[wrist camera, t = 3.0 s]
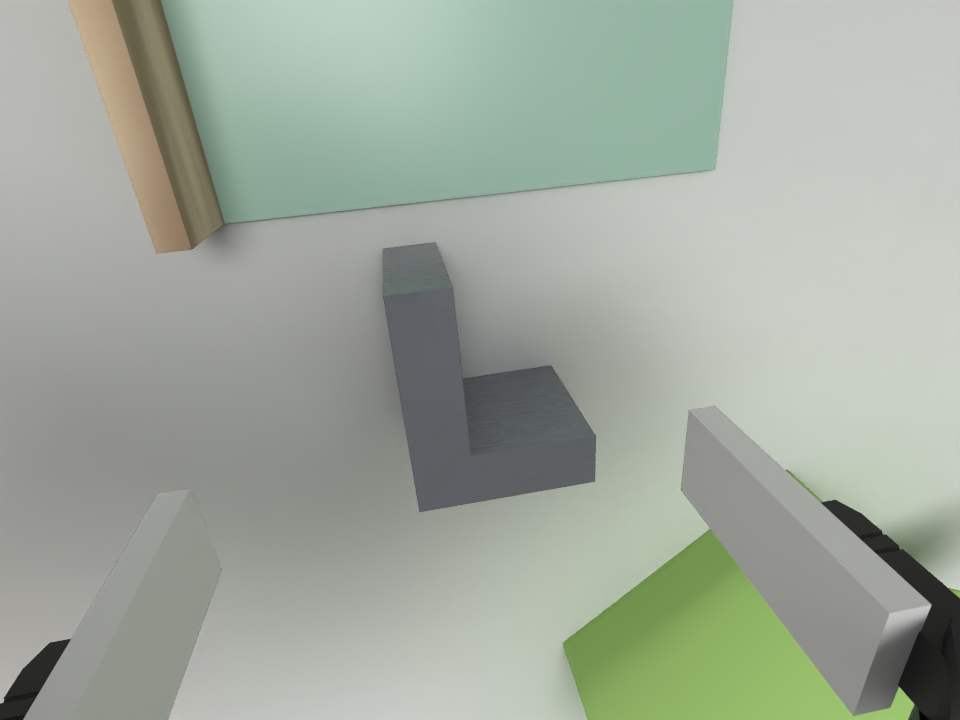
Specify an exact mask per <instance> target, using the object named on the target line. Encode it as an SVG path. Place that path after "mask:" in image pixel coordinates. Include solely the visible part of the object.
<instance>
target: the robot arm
mask: <svg viewBox="0 0 960 720" xmlns="http://www.w3.org/2000/svg"><path fill="white" fill-rule="evenodd" d="M681 491H682V492H683V494H684V495H685V496H686V498H687V499H688V500H689V502H690V503H691V504H692V505H693V507H694V508H695V509H696V511H697V512H698V513H699V515H700V516H701V517H702V519H703V520H704V521H705V522H706V524H707V525H708V526H709V528H710V529H711V530H712V532H713V533H714V534H715V536H716V537H717V538H718V540H719V541H720V542H721V543H722V545H723V546H724V547H725V549H726V550H727V551H728V553H729V554H730V555H731V557H732V558H733V559H734V561H735V562H736V563H737V564H738V566H739V567H740V568H741V570H742V571H743V572H744V574H745V575H746V576H747V578H748V579H749V580H750V582H751V583H752V584H753V585H754V587H755V588H756V589H757V591H758V592H759V593H760V595H761V596H762V597H763V599H764V600H765V601H766V603H767V604H768V605H769V606H770V608H771V609H772V610H773V612H774V613H775V614H776V616H777V617H778V618H779V620H780V621H781V622H782V624H783V625H784V626H785V627H786V629H787V630H788V631H789V633H790V634H791V635H792V637H793V638H794V639H795V641H796V642H797V643H798V645H799V646H800V647H801V648H802V650H803V651H804V652H805V654H806V655H807V656H808V658H809V659H810V660H811V662H812V663H813V664H814V666H815V667H816V668H817V669H818V671H819V672H820V673H821V675H822V676H823V677H824V679H825V680H826V681H827V683H828V684H829V685H830V687H831V688H832V689H833V690H834V692H835V693H836V694H837V696H838V697H839V698H840V700H841V701H842V702H843V704H844V705H845V706H846V707H847V709H848V710H849V711H850V713H851V714H852V715H853V716H856V715H861V714H865V713H870V712H874V711H879V710H883V709H887V708H891V705H892V703H893V700H894V698H895V695H896V693H897V690H898V688H899V687H900V688H901V689H902V691H903V692H904V693H905V694H906V695H907V696H908V697H909V699H910V700H911V701H912V702H913V703H914V707H913V709H912V711H911V714H910V716H909V718H908V720H960V598H959V597H958V596H957V595H955V594H954V593H953V592H952V591H951V590H950V589H948V588H947V587H946V586H945V585H944V584H943V583H941V582H940V581H939V580H938V579H937V578H936V577H934V576H933V575H932V574H931V573H930V572H929V571H928V570H926V569H925V568H924V567H923V566H922V565H921V564H919V563H918V562H917V561H916V560H915V559H914V558H912V557H911V556H910V555H909V554H908V553H907V552H905V551H904V550H900V549H899V546H898V545H897V544H896V543H895V542H894V541H893V540H892V539H890V538H889V537H888V536H887V535H883V534H882V531H881V530H880V529H879V528H878V527H876V526H875V525H874V524H873V523H872V522H871V521H869V520H868V519H867V518H866V517H865V516H864V515H862V514H861V513H859V512H857V511H856V510H854V509H852V508H850V507H848V506H846V505H844V504H842V503H840V502H838V501H837V500H832V501H827V502H821V503H820V502H819V501H818V500H817V499H816V498H815V497H814V496H813V495H812V494H810V493H809V492H808V491H807V490H806V489H805V488H804V487H803V486H802V485H801V484H800V483H799V482H797V481H796V480H795V479H794V478H793V477H792V476H791V475H790V474H789V473H788V472H787V471H785V470H784V469H783V468H782V467H781V466H780V465H779V464H778V463H777V462H776V461H775V460H773V459H772V458H771V457H770V456H769V455H768V454H767V453H766V452H765V451H764V450H763V449H761V448H760V447H759V446H758V445H757V444H756V443H755V442H754V441H753V440H752V439H751V438H749V437H748V436H747V435H746V434H745V433H744V432H743V431H742V430H741V429H740V428H739V427H737V426H736V425H735V424H734V423H733V422H732V421H731V420H730V419H729V418H728V417H727V416H725V415H724V414H723V413H722V412H721V411H720V410H719V409H718V408H717V407H716V406H712V407H705V408H699V409H692V410H689V412H688V422H687V432H686V442H685V452H684V462H683V472H682V482H681ZM221 570H222V568H221V565H220V563H219V560H218V558H217V555H216V553H215V550H214V548H213V545H212V543H211V540H210V537H209V535H208V532H207V530H206V527H205V525H204V522H203V520H202V517H201V515H200V512H199V510H198V507H197V505H196V502H195V500H194V497H193V494H192V492H191V489H190V488H189V489H182V490H176V491H170V492H163V493H158V494H157V496H156V497H155V499H154V501H153V502H152V504H151V506H150V507H149V509H148V511H147V512H146V514H145V516H144V518H143V519H142V521H141V523H140V524H139V526H138V528H137V529H136V531H135V533H134V534H133V536H132V538H131V539H130V541H129V543H128V544H127V546H126V548H125V549H124V551H123V553H122V554H121V556H120V558H119V560H118V561H117V563H116V565H115V566H114V568H113V570H112V571H111V573H110V575H109V576H108V578H107V580H106V581H105V583H104V585H103V586H102V588H101V590H100V591H99V593H98V595H97V596H96V598H95V600H94V601H93V603H92V605H91V607H90V608H89V610H88V612H87V613H86V615H85V617H84V618H83V620H82V622H81V623H80V625H79V627H78V628H77V630H76V632H75V633H74V635H73V637H72V638H71V639H68V640H63V641H57V642H51V643H49V644H48V645H47V646H46V647H45V648H44V649H43V650H42V651H41V652H40V653H39V654H38V655H37V656H36V657H35V658H34V659H33V660H32V661H31V662H30V663H29V664H28V665H27V666H26V667H24V668H23V670H22V671H21V673H20V674H19V676H18V677H17V679H16V680H15V682H14V683H13V685H12V686H11V688H10V690H9V691H8V693H7V694H6V696H5V697H4V703H1V704H0V720H168V718H169V715H170V712H171V710H172V707H173V704H174V701H175V698H176V696H177V693H178V690H179V687H180V685H181V682H182V679H183V676H184V673H185V671H186V668H187V665H188V662H189V660H190V657H191V654H192V651H193V648H194V646H195V643H196V640H197V637H198V634H199V632H200V629H201V626H202V623H203V621H204V618H205V615H206V612H207V609H208V607H209V604H210V601H211V598H212V596H213V593H214V590H215V587H216V584H217V582H218V579H219V576H220V573H221Z"/></svg>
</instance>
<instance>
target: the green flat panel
mask: <svg viewBox="0 0 960 720" xmlns="http://www.w3.org/2000/svg"><path fill="white" fill-rule="evenodd" d="M786 471H787V472H788V473H789V474H790V475H791V476H792V477H793V478H794V479H795V480H796V481H797V482H799V483H800V484H801V485H802V486H803V487H804V488H805V489H806V490H807V491H808V492H809V493H810V494H812V495H813V496H814V497H815V498H816V499H817V500H818V501H819V502H820V503H821V502H822V501H821V500H820V499H819V498H818V497H817V496H816V495H815V494H814V493H812V492H811V491H810V490H809V489H808V488H807V487H806V486H805V485H804V484H803V483H801V482H800V481H799V480H798V479H797V478H796V477H795V476H794V475H793V474H792V473H790V472H789V471H788V470H786ZM948 589H950V588H948ZM950 590H951V591H952V592H953V593H954V594H955V595H957V596H958V597H959V598H960V591H959V590H954V589H950ZM563 645H564V648H565V651H566V654H567V657H568V660H569V664H570V667H571V670H572V673H573V676H574V679H575V682H576V685H577V688H578V691H579V694H580V697H581V700H582V703H583V706H584V709H585V712H586V715H587V718H588V720H908V718H909V716H910V714H911V711H912V709H913V707H914V703H913V702H912V701H911V700H910V699H909V697H908V696H907V695H906V694H905V693H904V692H903V691H902V689H901V688H900V687H899V688H898V690H897V693H896V695H895V698H894V700H893V703H892V705H891V708H887V709H883V710H879V711H874V712H870V713H865V714H861V715H856V716H853V715H852V714H851V713H850V711H849V710H848V709H847V707H846V706H845V705H844V704H843V702H842V701H841V700H840V698H839V697H838V696H837V694H836V693H835V692H834V690H833V689H832V688H831V687H830V685H829V684H828V683H827V681H826V680H825V679H824V677H823V676H822V675H821V673H820V672H819V671H818V669H817V668H816V667H815V666H814V664H813V663H812V662H811V660H810V659H809V658H808V656H807V655H806V654H805V652H804V651H803V650H802V648H801V647H800V646H799V645H798V643H797V642H796V641H795V639H794V638H793V637H792V635H791V634H790V633H789V631H788V630H787V629H786V627H785V626H784V625H783V624H782V622H781V621H780V620H779V618H778V617H777V616H776V614H775V613H774V612H773V610H772V609H771V608H770V606H769V605H768V604H767V603H766V601H765V600H764V599H763V597H762V596H761V595H760V593H759V592H758V591H757V589H756V588H755V587H754V585H753V584H752V583H751V582H750V580H749V579H748V578H747V576H746V575H745V574H744V572H743V571H742V570H741V568H740V567H739V566H738V564H737V563H736V562H735V561H734V559H733V558H732V557H731V555H730V554H729V553H728V551H727V550H726V549H725V547H724V546H723V545H722V543H721V542H720V541H719V540H718V538H717V537H716V536H715V534H714V533H713V532H712V530H711V529H710V530H708V531H707V532H706V533H704V534H703V535H702V536H701V537H699V538H698V539H697V540H695V541H694V542H693V543H692V544H690V545H689V546H688V547H686V548H685V549H684V550H682V551H681V552H680V553H679V554H677V555H676V556H675V557H673V558H672V559H671V560H669V561H668V562H667V563H666V564H664V565H663V566H662V567H660V568H659V569H658V570H657V571H655V572H654V573H653V574H651V575H650V576H649V577H647V578H646V579H645V580H644V581H642V582H641V583H640V584H638V585H637V586H636V587H635V588H633V589H632V590H631V591H629V592H628V593H627V594H625V595H624V596H623V597H622V598H620V599H619V600H618V601H616V602H615V603H614V604H613V605H611V606H610V607H609V608H607V609H606V610H605V611H603V612H602V613H601V614H600V615H598V616H597V617H596V618H594V619H593V620H592V621H590V622H589V623H588V624H587V625H585V626H584V627H583V628H581V629H580V630H579V631H578V632H576V633H575V634H574V635H572V636H571V637H570V638H568V639H567V640H566V641H565V642H563Z"/></svg>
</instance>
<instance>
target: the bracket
mask: <svg viewBox="0 0 960 720" xmlns="http://www.w3.org/2000/svg"><path fill="white" fill-rule="evenodd" d="M383 298H384V304H385V310H386V316H387V322H388V328H389V334H390V340H391V345H392V351H393V357H394V363H395V369H396V375H397V381H398V387H399V393H400V399H401V405H402V411H403V417H404V423H405V428H406V434H407V440H408V446H409V452H410V458H411V464H412V470H413V476H414V482H415V488H416V494H417V500H418V506H419V511H420V512H423V511H428V510H434V509H440V508H446V507H451V506H457V505H463V504H469V503H474V502H480V501H486V500H492V499H497V498H503V497H509V496H515V495H520V494H526V493H532V492H538V491H543V490H549V489H555V488H561V487H566V486H572V485H578V484H584V483H589V482H595V452H596V435H595V434H594V432H593V431H592V429H591V427H590V426H589V424H588V423H587V421H586V420H585V418H584V416H583V415H582V413H581V412H580V410H579V409H578V407H577V406H576V404H575V402H574V401H573V399H572V398H571V396H570V395H569V393H568V391H567V390H566V388H565V387H564V385H563V384H562V382H561V380H560V379H559V377H558V376H557V374H556V373H555V371H554V369H553V368H552V366H545V367H539V368H532V369H525V370H518V371H512V372H505V373H498V374H491V375H485V376H478V377H471V378H464V379H462V370H461V361H460V352H459V343H458V333H457V324H456V315H455V306H454V296H453V287H452V284H451V282H450V279H449V276H448V274H447V271H446V269H445V266H444V263H443V261H442V258H441V255H440V253H439V250H438V247H437V245H436V242H434V243H426V244H418V245H409V246H401V247H393V248H384V249H383Z"/></svg>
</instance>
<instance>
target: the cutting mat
mask: <svg viewBox="0 0 960 720" xmlns="http://www.w3.org/2000/svg"><path fill="white" fill-rule="evenodd" d="M161 3H162V7H163V10H164V14H165V17H166V21H167V24H168V28H169V31H170V35H171V38H172V42H173V45H174V49H175V52H176V56H177V59H178V63H179V66H180V69H181V73H182V76H183V80H184V83H185V87H186V90H187V94H188V97H189V101H190V104H191V108H192V111H193V115H194V118H195V122H196V125H197V129H198V132H199V136H200V139H201V143H202V146H203V150H204V153H205V157H206V160H207V164H208V167H209V171H210V174H211V177H212V181H213V184H214V188H215V191H216V195H217V198H218V202H219V205H220V209H221V212H222V216H223V219H224V223H225V224H228V223H237V222H246V221H255V220H264V219H273V218H282V217H291V216H300V215H309V214H318V213H327V212H336V211H345V210H354V209H363V208H372V207H381V206H390V205H399V204H408V203H417V202H426V201H435V200H444V199H453V198H462V197H471V196H480V195H489V194H498V193H507V192H516V191H525V190H534V189H543V188H552V187H561V186H570V185H579V184H588V183H597V182H606V181H615V180H624V179H633V178H642V177H651V176H660V175H669V174H678V173H687V172H696V171H705V170H714V169H716V159H717V150H718V140H719V131H720V122H721V112H722V103H723V93H724V84H725V74H726V65H727V56H728V46H729V37H730V27H731V18H732V8H733V0H161Z"/></svg>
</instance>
